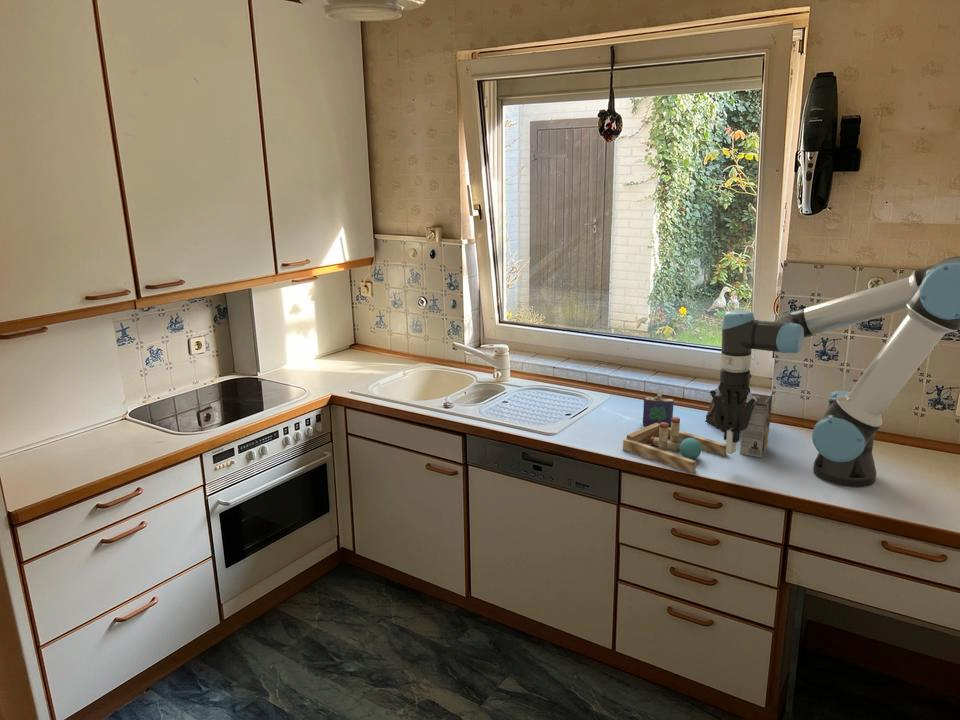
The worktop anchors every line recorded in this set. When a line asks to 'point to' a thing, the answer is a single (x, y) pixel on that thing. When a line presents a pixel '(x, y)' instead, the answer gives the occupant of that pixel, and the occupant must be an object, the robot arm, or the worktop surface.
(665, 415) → the flask
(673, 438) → the pin
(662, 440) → the pin
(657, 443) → the pin front
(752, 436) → the coffee box
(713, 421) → the carved bird figurine
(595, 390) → the worktop surface
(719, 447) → the lane
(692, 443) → the ball
